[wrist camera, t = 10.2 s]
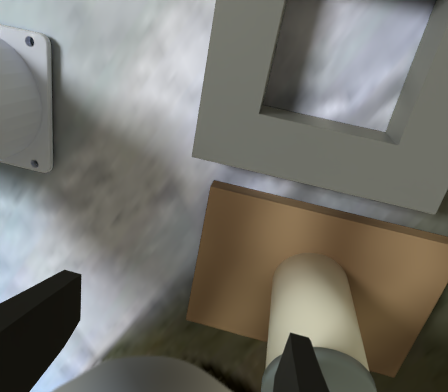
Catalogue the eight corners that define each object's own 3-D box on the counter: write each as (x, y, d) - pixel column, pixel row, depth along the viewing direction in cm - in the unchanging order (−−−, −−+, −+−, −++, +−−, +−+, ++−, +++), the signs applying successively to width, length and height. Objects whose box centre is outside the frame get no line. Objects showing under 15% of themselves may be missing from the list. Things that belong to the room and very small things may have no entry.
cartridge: (264, 304, 23) (250, 427, 15) (280, 243, 21) (274, 350, 14) (336, 323, 22) (359, 458, 15) (360, 261, 20) (398, 382, 13)
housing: (203, 143, 20) (191, 156, 18) (247, -125, 15) (240, -154, 13) (418, 194, 19) (435, 214, 17) (542, -76, 14) (589, -98, 12)
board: (189, 309, 25) (185, 319, 24) (214, 180, 21) (210, 186, 20) (390, 365, 24) (394, 377, 23) (458, 239, 20) (466, 249, 19)
